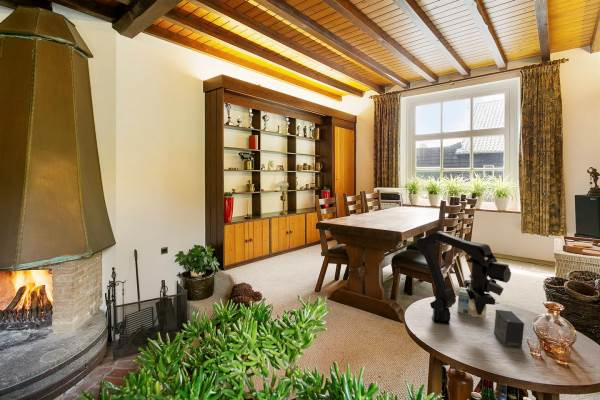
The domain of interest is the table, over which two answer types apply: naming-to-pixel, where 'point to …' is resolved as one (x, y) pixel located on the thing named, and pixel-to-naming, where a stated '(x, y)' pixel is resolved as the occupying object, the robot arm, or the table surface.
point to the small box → (508, 328)
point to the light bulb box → (463, 301)
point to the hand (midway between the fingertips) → (476, 311)
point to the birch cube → (473, 310)
